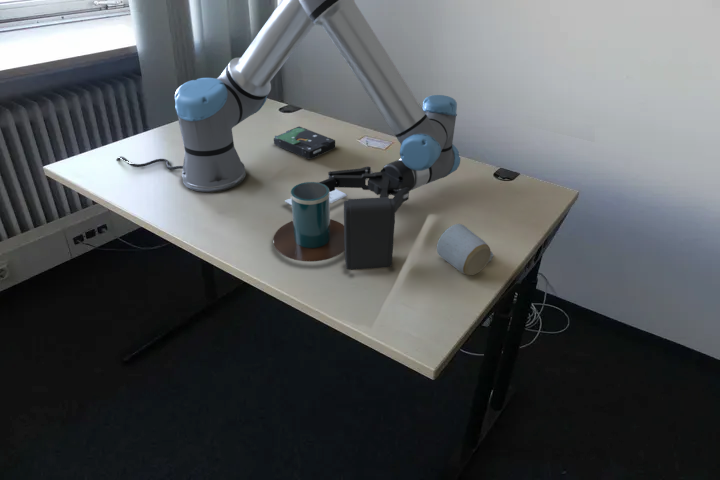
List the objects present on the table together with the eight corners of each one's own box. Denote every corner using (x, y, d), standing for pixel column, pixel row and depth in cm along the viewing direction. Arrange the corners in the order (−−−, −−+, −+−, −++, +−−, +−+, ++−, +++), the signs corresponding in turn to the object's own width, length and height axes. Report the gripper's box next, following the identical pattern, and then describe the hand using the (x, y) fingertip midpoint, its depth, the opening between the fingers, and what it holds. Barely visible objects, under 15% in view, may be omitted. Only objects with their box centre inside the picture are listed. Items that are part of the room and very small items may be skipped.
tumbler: (287, 243, 104) (283, 196, 98) (303, 224, 110) (301, 178, 104) (321, 251, 102) (319, 203, 96) (336, 232, 108) (335, 185, 102)
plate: (259, 256, 103) (258, 250, 102) (295, 216, 115) (294, 211, 115) (333, 274, 98) (333, 268, 98) (362, 231, 111) (362, 225, 110)
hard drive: (284, 206, 119) (324, 188, 126) (307, 220, 114) (347, 200, 121) (283, 200, 118) (324, 182, 125) (306, 213, 113) (347, 194, 120)
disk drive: (336, 149, 145) (299, 134, 153) (336, 139, 143) (299, 125, 151) (310, 161, 138) (272, 145, 146) (309, 151, 137) (272, 135, 144)
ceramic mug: (463, 283, 97) (469, 250, 92) (433, 261, 102) (438, 229, 98) (501, 264, 102) (509, 232, 97) (471, 245, 107) (477, 213, 103)
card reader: (389, 259, 102) (393, 194, 94) (393, 272, 99) (397, 205, 91) (344, 262, 102) (343, 196, 93) (346, 275, 98) (345, 208, 90)
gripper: (443, 212, 110) (368, 248, 99) (367, 170, 126) (295, 197, 115) (447, 181, 106) (368, 215, 95) (368, 142, 122) (293, 167, 111)
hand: (328, 206), depth 105 cm, fingers open, 13 cm apart
